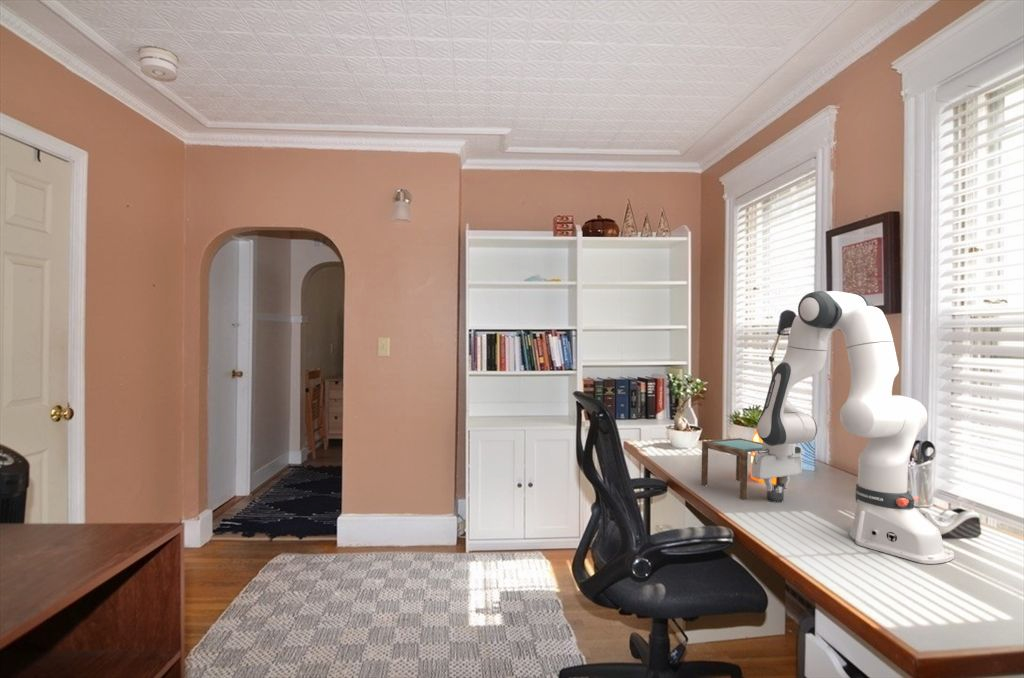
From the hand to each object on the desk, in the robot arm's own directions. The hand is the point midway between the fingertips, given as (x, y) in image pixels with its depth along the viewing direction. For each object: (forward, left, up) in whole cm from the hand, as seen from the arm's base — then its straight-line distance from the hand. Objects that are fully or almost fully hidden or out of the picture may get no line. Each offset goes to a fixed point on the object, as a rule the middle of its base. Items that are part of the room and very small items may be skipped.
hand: (776, 489), depth 181 cm
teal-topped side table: (+15, 0, -4) cm, 15 cm away
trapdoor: (+15, 0, +11) cm, 19 cm away
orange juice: (+20, -19, -4) cm, 28 cm away
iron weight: (+1, 0, -4) cm, 4 cm away
